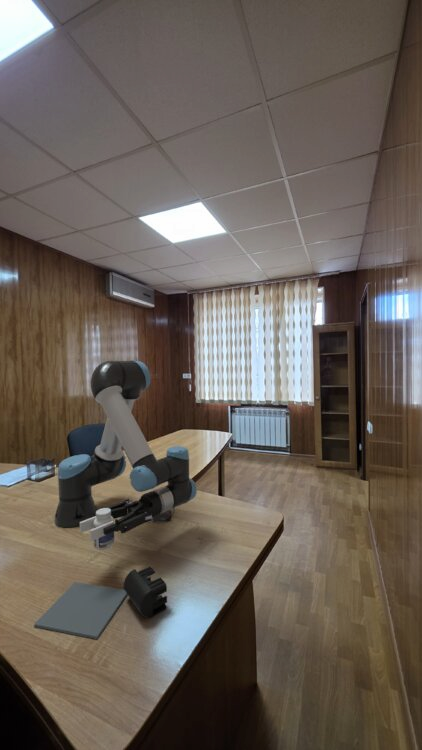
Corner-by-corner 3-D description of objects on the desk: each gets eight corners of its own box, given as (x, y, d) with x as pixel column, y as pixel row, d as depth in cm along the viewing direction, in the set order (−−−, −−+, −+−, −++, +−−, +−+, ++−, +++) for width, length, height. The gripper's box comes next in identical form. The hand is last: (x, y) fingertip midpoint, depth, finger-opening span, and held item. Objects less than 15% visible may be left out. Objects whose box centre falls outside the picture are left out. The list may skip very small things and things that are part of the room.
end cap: (123, 599, 78) (122, 573, 78) (149, 587, 82) (148, 562, 82) (140, 625, 70) (139, 596, 70) (168, 610, 74) (167, 582, 74)
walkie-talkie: (176, 522, 117) (171, 500, 136) (176, 510, 117) (171, 490, 136) (152, 525, 115) (151, 502, 134) (152, 513, 115) (151, 492, 134)
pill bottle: (118, 541, 89) (117, 508, 88) (106, 552, 84) (105, 516, 83) (102, 538, 90) (101, 505, 90) (89, 548, 85) (88, 514, 85)
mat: (34, 626, 70) (34, 624, 70) (74, 584, 84) (74, 582, 84) (97, 639, 67) (97, 636, 67) (128, 592, 80) (128, 590, 80)
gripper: (174, 523, 94) (102, 559, 77) (139, 505, 106) (71, 532, 89) (174, 499, 94) (101, 530, 77) (139, 483, 106) (70, 507, 89)
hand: (85, 531), depth 83 cm, fingers closed on pill bottle, 5 cm apart
